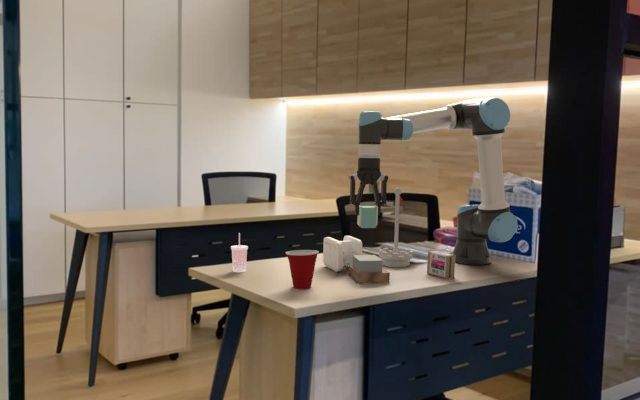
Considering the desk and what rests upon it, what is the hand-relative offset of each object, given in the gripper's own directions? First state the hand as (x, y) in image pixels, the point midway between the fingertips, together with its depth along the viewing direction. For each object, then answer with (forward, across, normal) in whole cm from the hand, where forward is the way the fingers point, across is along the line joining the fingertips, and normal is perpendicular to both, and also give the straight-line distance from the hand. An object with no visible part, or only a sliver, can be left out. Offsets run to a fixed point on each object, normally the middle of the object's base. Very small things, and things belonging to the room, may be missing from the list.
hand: (367, 224), depth 211 cm
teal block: (+1, 0, 0) cm, 1 cm away
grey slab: (+16, 0, 0) cm, 16 cm away
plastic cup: (+19, +24, +9) cm, 32 cm away
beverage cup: (+19, +43, -17) cm, 50 cm away
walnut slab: (+20, -1, 0) cm, 20 cm away
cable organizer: (+19, +5, -17) cm, 26 cm away
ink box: (+19, -28, -2) cm, 34 cm away
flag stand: (+19, -18, -24) cm, 36 cm away
